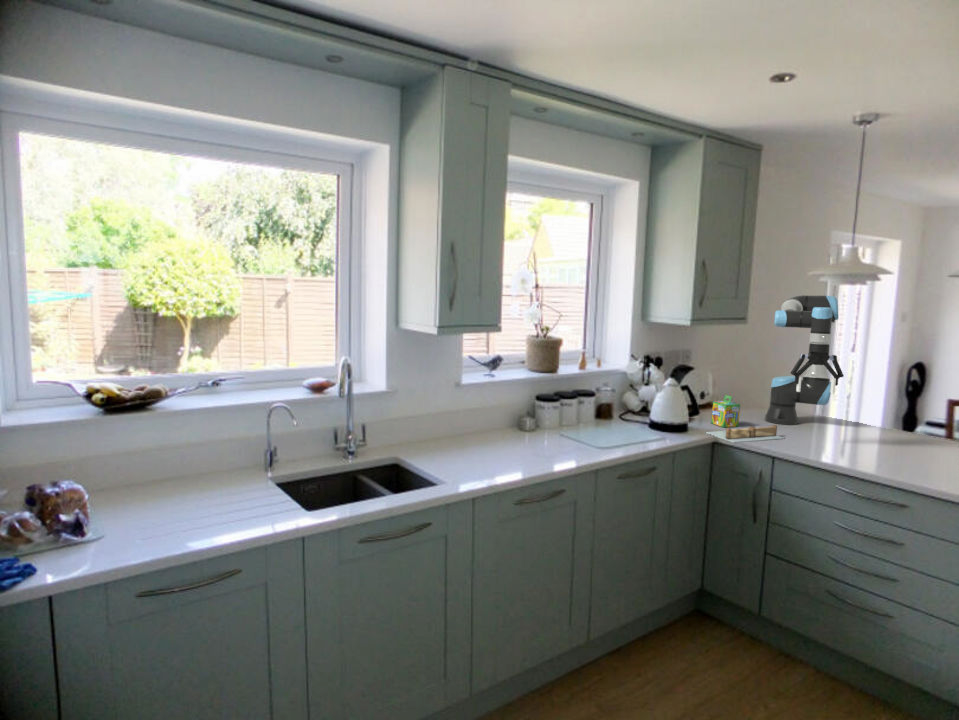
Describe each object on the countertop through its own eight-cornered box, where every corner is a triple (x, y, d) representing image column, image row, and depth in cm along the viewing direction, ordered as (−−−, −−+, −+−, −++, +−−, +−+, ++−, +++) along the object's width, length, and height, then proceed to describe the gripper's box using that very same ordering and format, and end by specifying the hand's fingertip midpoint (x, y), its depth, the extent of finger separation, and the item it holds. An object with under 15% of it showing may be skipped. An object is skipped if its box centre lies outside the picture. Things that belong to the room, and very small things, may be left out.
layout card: (705, 432, 272) (705, 431, 272) (754, 429, 281) (754, 428, 280) (733, 442, 255) (733, 441, 255) (784, 438, 263) (784, 437, 263)
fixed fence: (747, 436, 264) (747, 426, 264) (773, 434, 269) (774, 424, 268) (751, 437, 262) (751, 427, 262) (777, 435, 267) (778, 426, 266)
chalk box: (710, 423, 291) (712, 394, 289) (725, 422, 294) (727, 393, 292) (723, 428, 282) (725, 397, 281) (739, 427, 285) (741, 397, 284)
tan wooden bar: (746, 436, 264) (747, 426, 263) (749, 437, 262) (750, 427, 262) (724, 437, 260) (725, 428, 260) (727, 438, 258) (728, 429, 258)
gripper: (791, 342, 249) (787, 392, 251) (855, 345, 244) (850, 395, 247) (785, 341, 256) (781, 389, 258) (847, 343, 252) (843, 392, 254)
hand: (815, 392), depth 253 cm, fingers open, 13 cm apart
